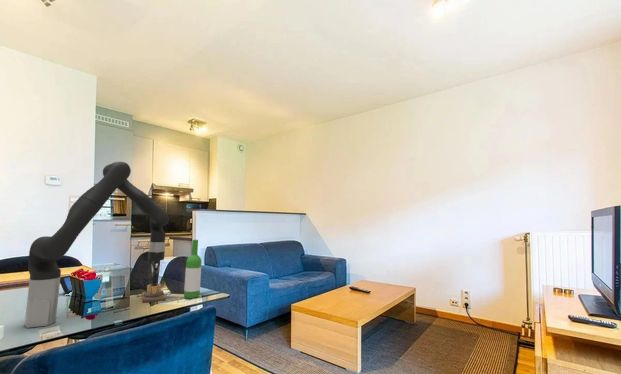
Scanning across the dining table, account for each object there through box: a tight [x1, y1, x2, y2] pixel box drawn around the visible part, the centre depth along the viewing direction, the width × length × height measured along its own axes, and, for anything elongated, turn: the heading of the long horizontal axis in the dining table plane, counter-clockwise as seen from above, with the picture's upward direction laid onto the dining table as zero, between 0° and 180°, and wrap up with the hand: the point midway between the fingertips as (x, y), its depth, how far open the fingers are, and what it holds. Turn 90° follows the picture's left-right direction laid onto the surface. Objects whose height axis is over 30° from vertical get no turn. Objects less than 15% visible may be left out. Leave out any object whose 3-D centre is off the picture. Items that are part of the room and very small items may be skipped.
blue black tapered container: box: [60, 275, 103, 294], centre depth 166 cm, size 16×13×9 cm
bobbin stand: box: [141, 283, 166, 304], centre depth 159 cm, size 16×10×8 cm, turn 29°
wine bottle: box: [183, 239, 202, 299], centre depth 164 cm, size 8×8×30 cm
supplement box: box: [93, 272, 104, 299], centre depth 152 cm, size 7×7×13 cm
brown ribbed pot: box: [146, 283, 162, 295], centre depth 159 cm, size 6×6×4 cm
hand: (154, 282), depth 160 cm, fingers open, 8 cm apart
